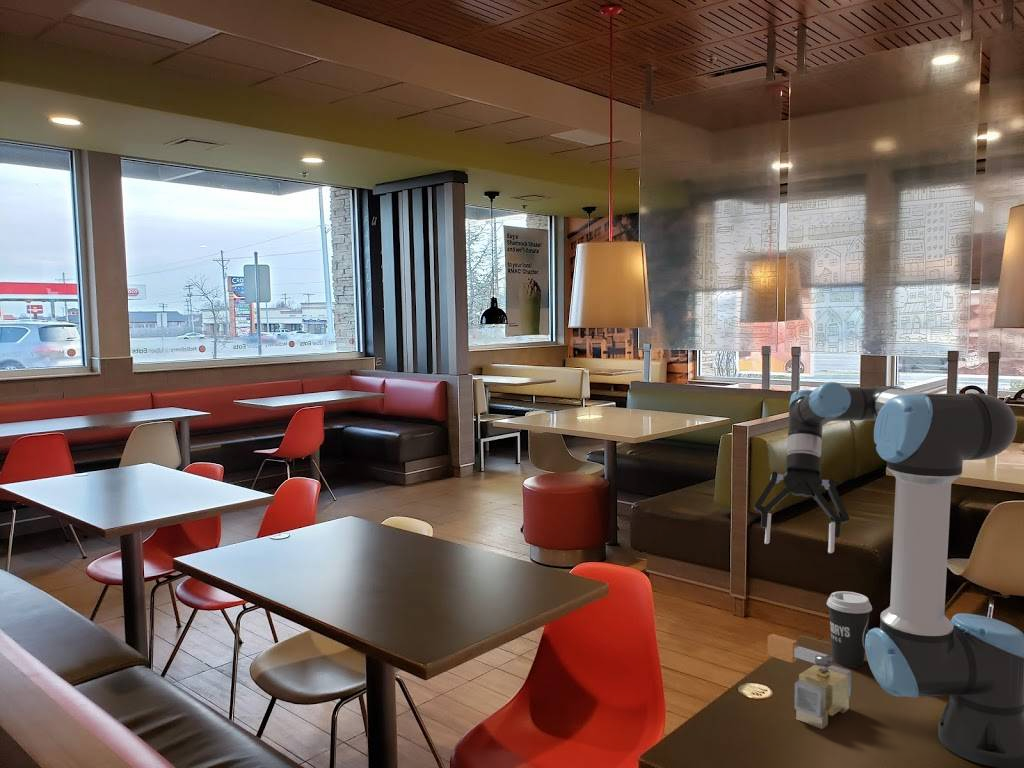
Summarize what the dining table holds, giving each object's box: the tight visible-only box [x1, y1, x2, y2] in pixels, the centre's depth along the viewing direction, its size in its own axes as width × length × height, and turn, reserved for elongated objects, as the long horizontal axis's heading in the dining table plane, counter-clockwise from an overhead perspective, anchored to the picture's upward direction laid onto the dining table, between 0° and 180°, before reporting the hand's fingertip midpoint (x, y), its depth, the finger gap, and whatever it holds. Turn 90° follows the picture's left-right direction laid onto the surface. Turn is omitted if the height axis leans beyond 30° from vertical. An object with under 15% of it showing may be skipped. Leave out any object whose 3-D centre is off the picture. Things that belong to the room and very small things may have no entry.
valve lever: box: [767, 633, 833, 672], centre depth 157 cm, size 13×3×4 cm, turn 43°
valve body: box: [793, 664, 852, 730], centre depth 153 cm, size 13×7×9 cm, turn 132°
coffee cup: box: [826, 590, 873, 668], centre depth 178 cm, size 10×10×15 cm
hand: (798, 547), depth 173 cm, fingers open, 13 cm apart
